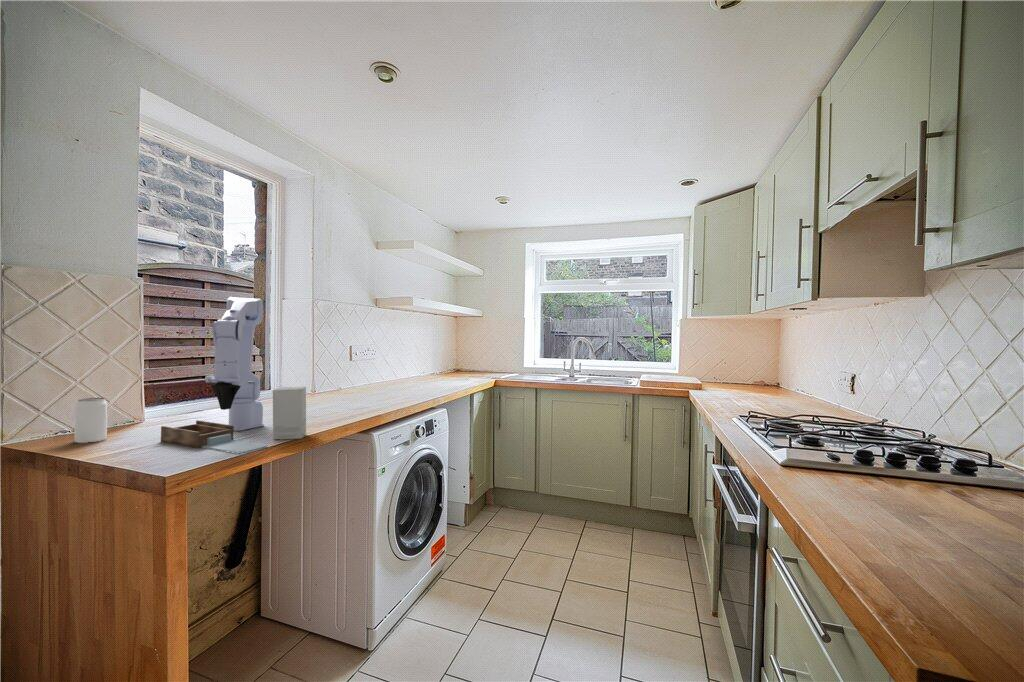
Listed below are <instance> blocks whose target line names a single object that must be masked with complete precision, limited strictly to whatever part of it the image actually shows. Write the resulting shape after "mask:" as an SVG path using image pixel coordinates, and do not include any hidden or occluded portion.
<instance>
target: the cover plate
mask: <svg viewBox="0 0 1024 682" xmlns="http://www.w3.org/2000/svg"><path fill="white" fill-rule="evenodd" d="M202 447H203V449H207V448H208V450H212V449H215V450H214V451H218V450H223V451H229V452H234V453H238V454H237V455H242V454H241V453H243V454H246V452H247V453H250V451H251V452H254V450H255V451H257V449H258V450H262V449H266V448H268V445H265V444H260V443H252V442H248V441H243V440H236V439H233V440H231V434H224V435H219V436H214V437H209V438H207V445H203V446H202ZM202 447H201V448H202ZM223 451H222V452H223ZM234 453H233V454H234Z"/></svg>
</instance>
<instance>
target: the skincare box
mask: <svg viewBox="0 0 1024 682" xmlns="http://www.w3.org/2000/svg"><path fill="white" fill-rule="evenodd" d="M305 435H307V386H280V387H279V386H278V387H276V388H275V389H273V390H272V440H273V439H280V440H299V439H303V438H304V437H305Z"/></svg>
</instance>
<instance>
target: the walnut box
mask: <svg viewBox="0 0 1024 682" xmlns="http://www.w3.org/2000/svg"><path fill="white" fill-rule="evenodd" d="M195 422H196V423H192V424H186V425H183V426H182V425H181V426H175V427H170V426H166V425H161V426H160V442H162V443H167V444H173V445H177V446H178V445H179V446H184V447H189V448H195V449H201V448H202V446H203V445H207V438H209V437H214V436H219V435H224V434H231V440H234V431H235V430H234V426H233V425H229V424H225V423H218V422H212V421H205V420H198V419H197V420H196V421H195Z"/></svg>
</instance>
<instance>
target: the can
mask: <svg viewBox="0 0 1024 682" xmlns="http://www.w3.org/2000/svg"><path fill="white" fill-rule="evenodd" d="M106 400H107V399H106V397H87V398H79V399H77V403H76V404H75V407H74V437H73V438H74V440H73V441H74V442H75V443H76V442H77V443H76V444H89V443H88V442H94V443H98V442H97V441H99V442H102V441H101V440H103V441H105V440H106V439H107V435H108V402H107V401H106ZM104 439H105V440H104Z"/></svg>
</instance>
